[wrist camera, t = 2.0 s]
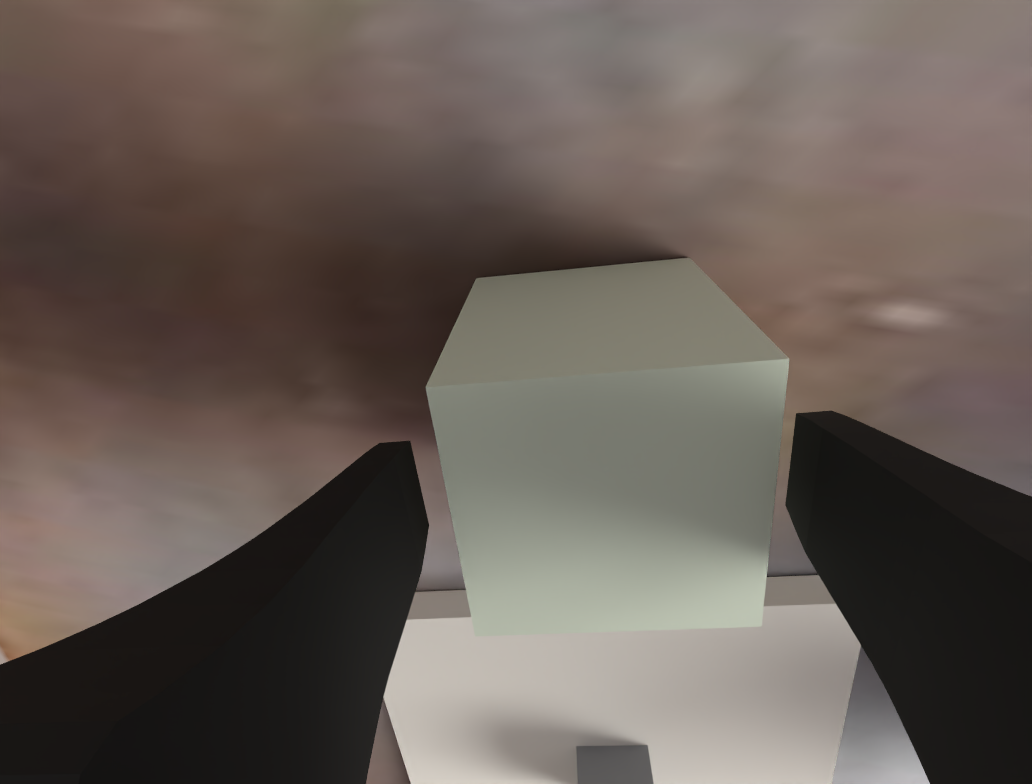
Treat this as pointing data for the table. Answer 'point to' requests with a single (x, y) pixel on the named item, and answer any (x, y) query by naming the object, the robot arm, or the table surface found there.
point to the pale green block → (609, 450)
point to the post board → (625, 698)
